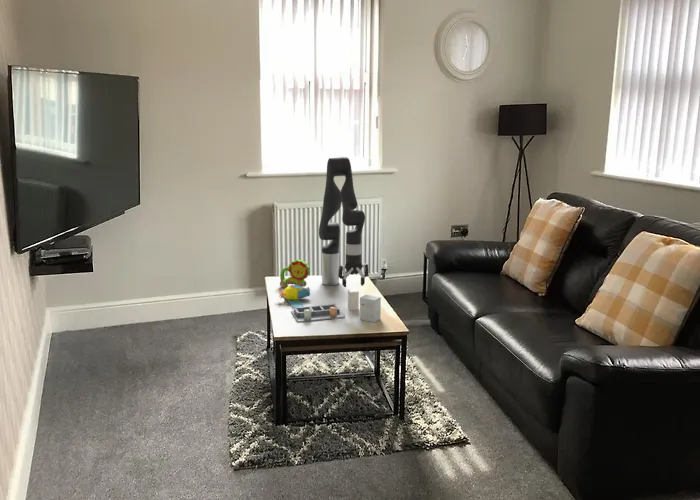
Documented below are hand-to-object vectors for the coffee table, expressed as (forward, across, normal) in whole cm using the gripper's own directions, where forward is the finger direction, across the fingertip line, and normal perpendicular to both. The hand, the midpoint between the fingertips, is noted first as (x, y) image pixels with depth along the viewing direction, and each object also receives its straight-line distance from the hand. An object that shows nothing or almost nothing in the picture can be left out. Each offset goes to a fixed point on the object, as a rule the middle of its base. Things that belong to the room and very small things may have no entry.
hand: (353, 286), depth 295 cm
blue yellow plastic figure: (+12, +24, -21) cm, 34 cm away
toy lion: (+11, +19, -42) cm, 48 cm away
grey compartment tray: (+11, +18, +3) cm, 22 cm away
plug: (+11, 0, 0) cm, 11 cm away
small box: (+12, -3, +16) cm, 20 cm away
